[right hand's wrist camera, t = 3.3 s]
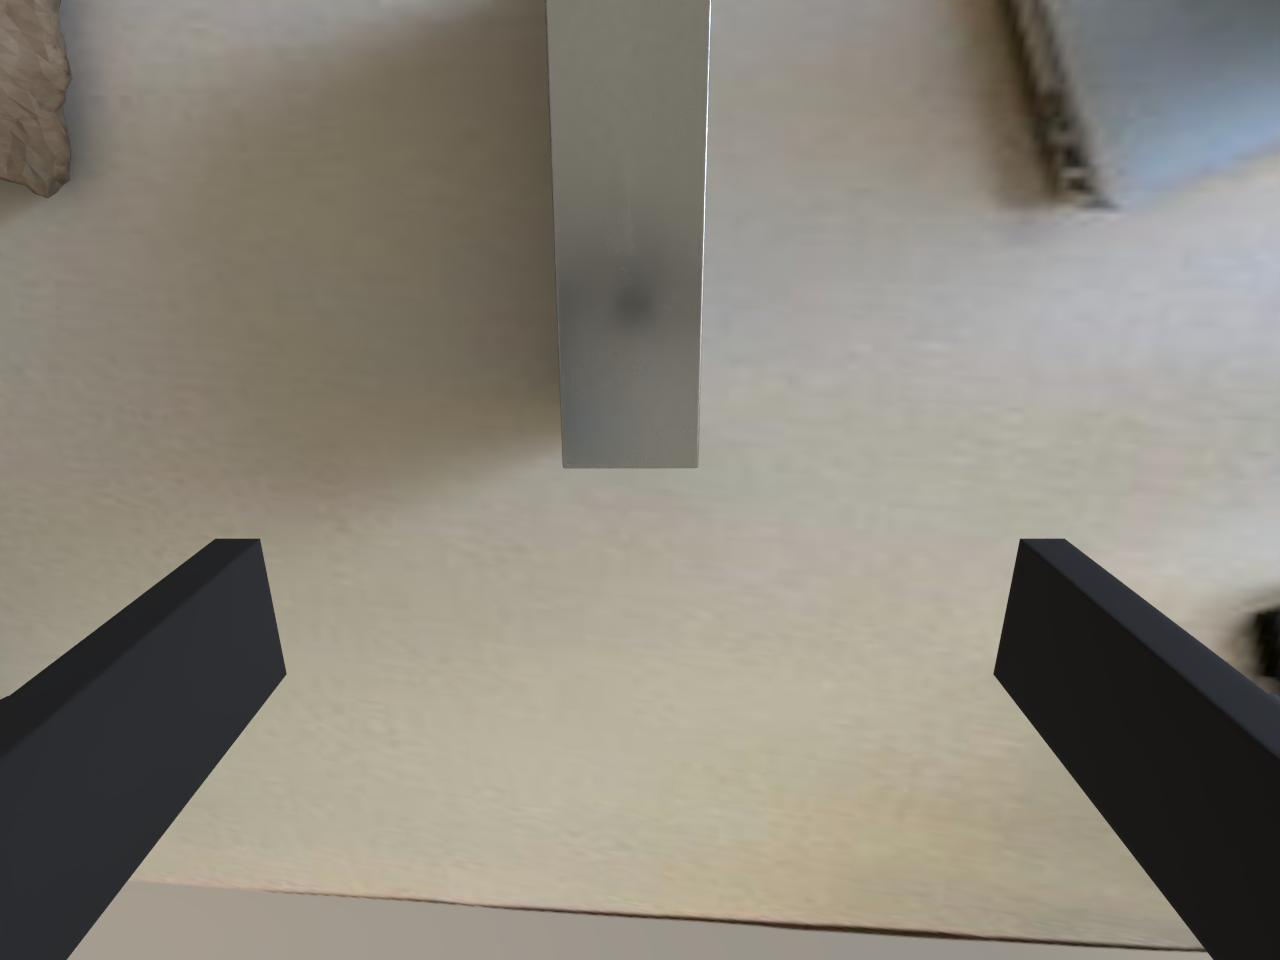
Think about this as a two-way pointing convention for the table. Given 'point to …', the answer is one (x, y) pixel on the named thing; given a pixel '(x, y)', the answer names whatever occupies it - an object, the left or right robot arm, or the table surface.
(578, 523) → the table surface
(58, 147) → the stone
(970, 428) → the table surface
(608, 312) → the box
